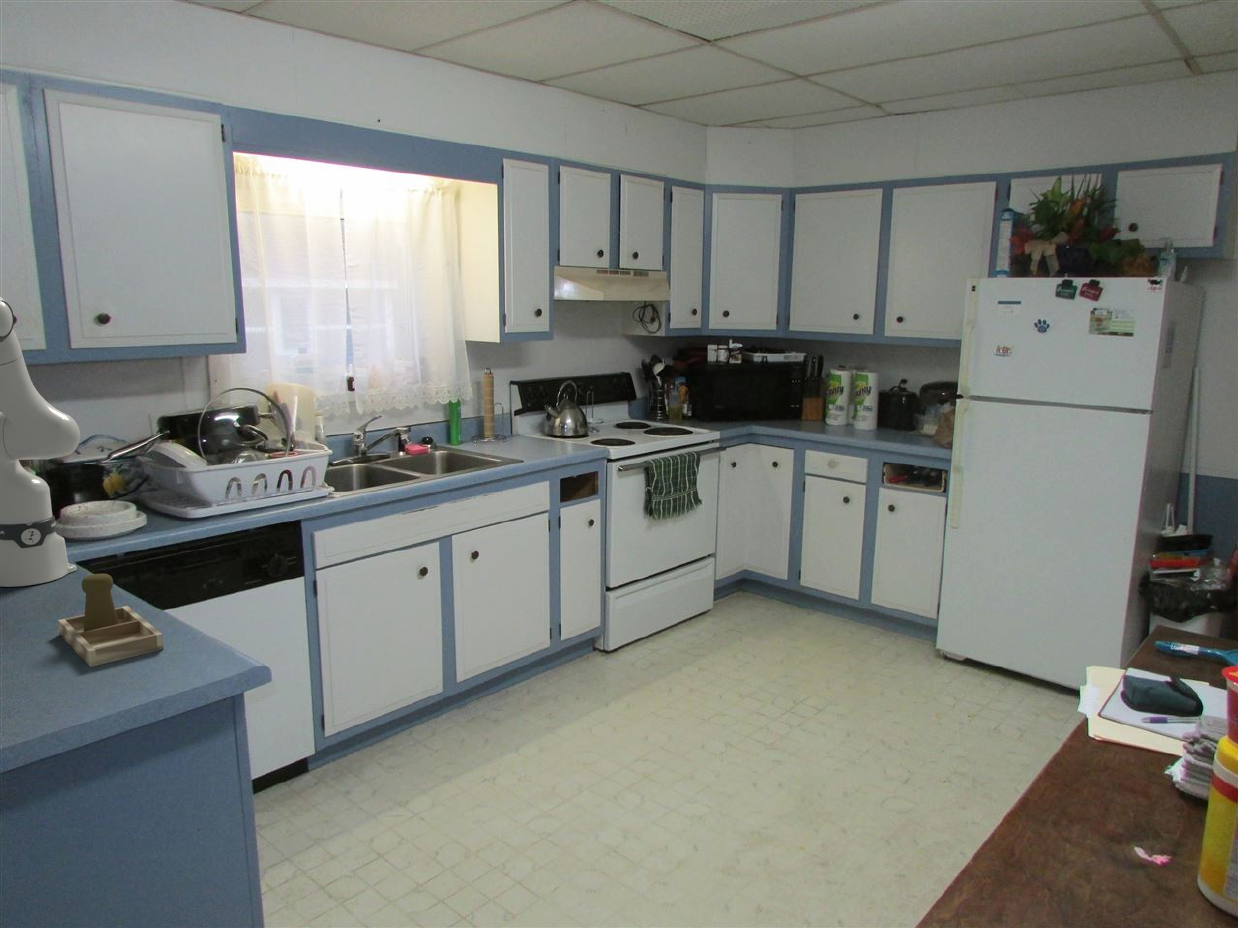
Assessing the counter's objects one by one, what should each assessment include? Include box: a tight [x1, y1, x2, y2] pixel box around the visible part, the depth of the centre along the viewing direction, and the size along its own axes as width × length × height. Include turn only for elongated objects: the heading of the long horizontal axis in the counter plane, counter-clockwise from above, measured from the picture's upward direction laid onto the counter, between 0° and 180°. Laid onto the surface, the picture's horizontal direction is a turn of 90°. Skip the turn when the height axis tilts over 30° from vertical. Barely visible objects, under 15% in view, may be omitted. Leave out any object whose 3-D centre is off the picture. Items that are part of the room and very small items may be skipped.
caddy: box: [57, 605, 164, 668], centre depth 161 cm, size 21×12×3 cm, turn 46°
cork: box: [81, 573, 119, 632], centre depth 164 cm, size 6×6×11 cm
